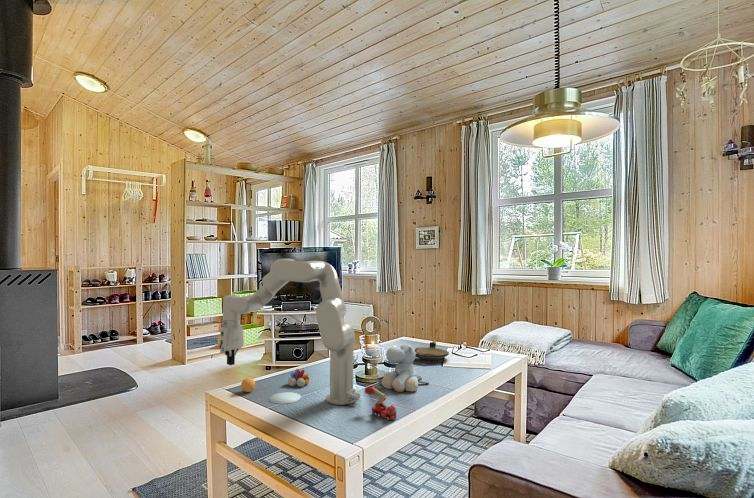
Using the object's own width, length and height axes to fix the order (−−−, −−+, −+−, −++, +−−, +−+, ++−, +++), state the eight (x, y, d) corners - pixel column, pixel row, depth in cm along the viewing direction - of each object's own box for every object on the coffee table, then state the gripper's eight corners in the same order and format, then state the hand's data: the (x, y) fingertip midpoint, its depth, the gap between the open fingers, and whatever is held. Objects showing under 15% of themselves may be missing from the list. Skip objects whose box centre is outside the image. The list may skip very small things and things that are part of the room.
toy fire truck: (392, 421, 150) (392, 395, 150) (364, 411, 159) (364, 386, 159) (397, 419, 152) (397, 392, 152) (370, 409, 162) (370, 384, 162)
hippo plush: (376, 382, 195) (376, 343, 195) (422, 378, 201) (422, 340, 201) (387, 395, 177) (387, 352, 177) (437, 390, 183) (437, 349, 183)
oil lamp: (400, 360, 233) (400, 346, 233) (428, 350, 256) (428, 338, 256) (435, 367, 219) (435, 353, 219) (461, 356, 243) (461, 343, 243)
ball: (258, 391, 182) (258, 377, 182) (247, 395, 177) (247, 381, 177) (248, 388, 185) (248, 375, 185) (237, 392, 180) (237, 378, 180)
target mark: (307, 396, 175) (307, 395, 175) (285, 406, 164) (285, 405, 164) (284, 390, 182) (284, 390, 182) (262, 399, 171) (262, 399, 171)
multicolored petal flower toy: (305, 388, 186) (305, 372, 186) (285, 387, 188) (285, 371, 188) (312, 382, 194) (312, 367, 194) (292, 381, 196) (292, 365, 196)
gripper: (222, 326, 177) (222, 369, 177) (250, 321, 189) (249, 362, 189) (211, 324, 181) (210, 366, 181) (239, 320, 193) (238, 359, 193)
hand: (230, 364), depth 185 cm, fingers closed
